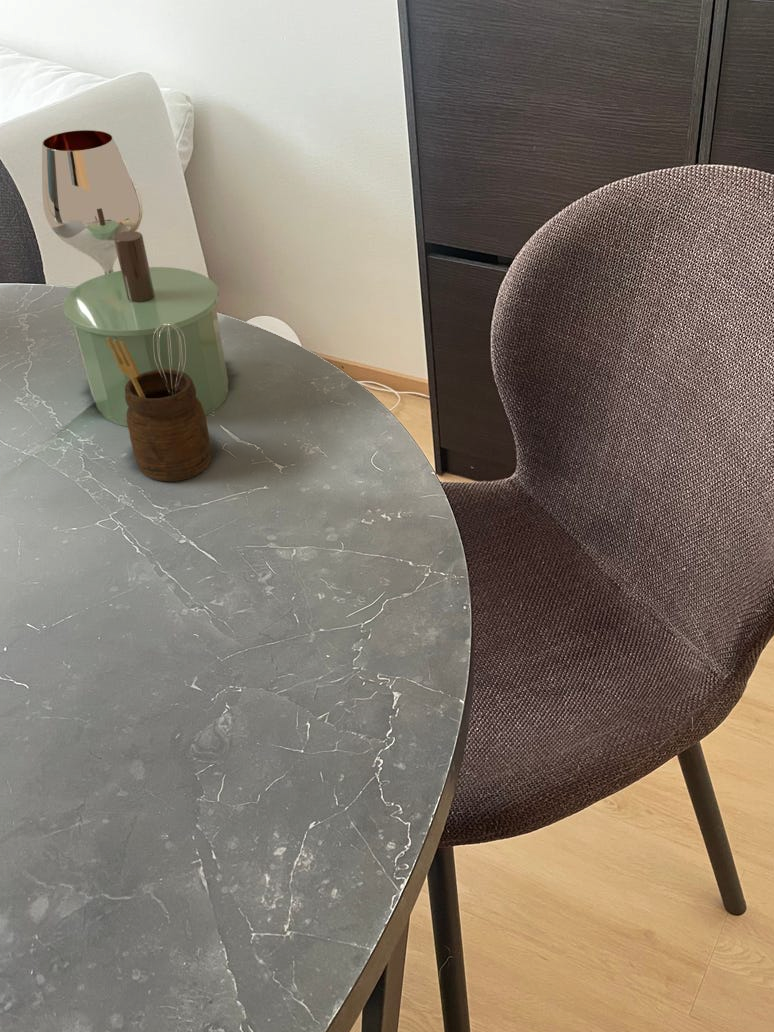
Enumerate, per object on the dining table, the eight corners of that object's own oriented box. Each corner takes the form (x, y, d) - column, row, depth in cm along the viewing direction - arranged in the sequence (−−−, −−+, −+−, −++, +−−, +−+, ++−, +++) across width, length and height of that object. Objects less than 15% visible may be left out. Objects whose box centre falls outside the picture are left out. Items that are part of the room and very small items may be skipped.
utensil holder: (228, 454, 84) (203, 313, 76) (179, 493, 80) (147, 348, 72) (170, 437, 86) (140, 298, 78) (119, 474, 82) (81, 331, 74)
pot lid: (34, 329, 83) (11, 254, 79) (121, 271, 92) (105, 200, 88) (169, 353, 81) (153, 276, 76) (246, 290, 89) (235, 218, 85)
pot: (68, 415, 89) (41, 321, 83) (142, 357, 97) (121, 267, 91) (185, 438, 86) (165, 342, 81) (251, 376, 94) (237, 285, 89)
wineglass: (81, 365, 96) (25, 159, 84) (80, 327, 101) (28, 129, 89) (172, 354, 97) (130, 151, 85) (166, 317, 103) (126, 122, 91)
